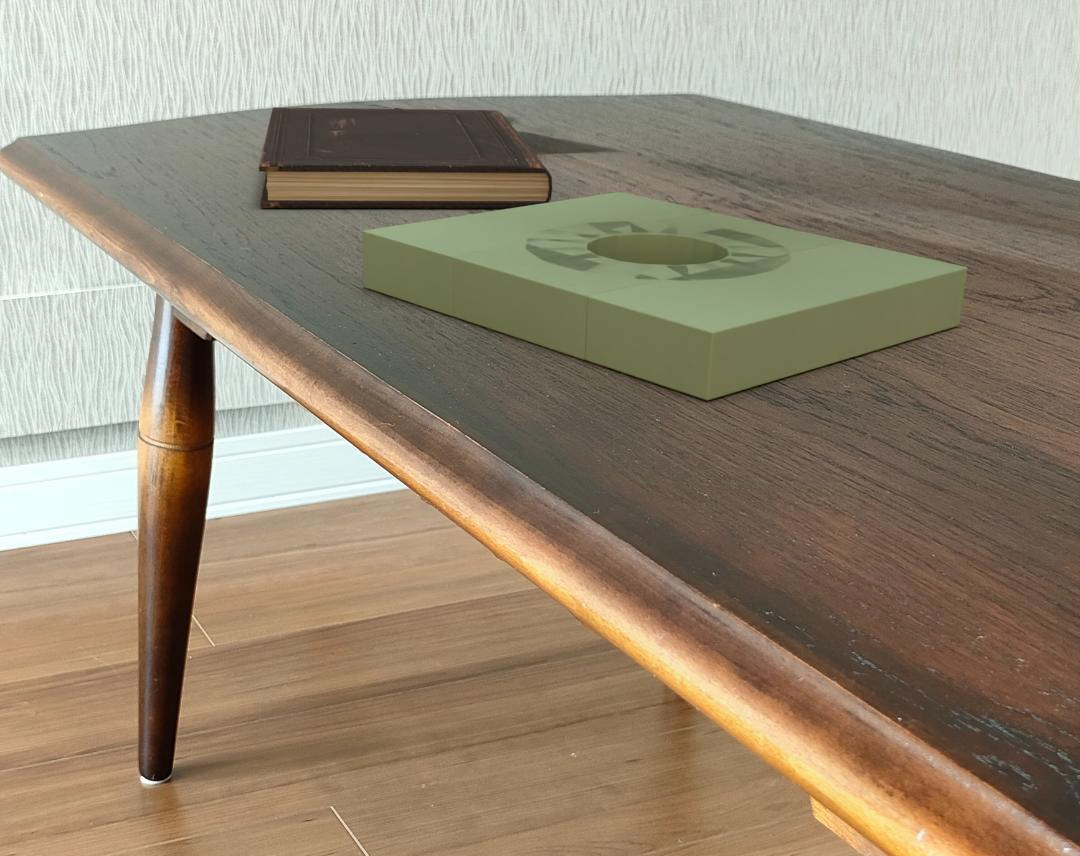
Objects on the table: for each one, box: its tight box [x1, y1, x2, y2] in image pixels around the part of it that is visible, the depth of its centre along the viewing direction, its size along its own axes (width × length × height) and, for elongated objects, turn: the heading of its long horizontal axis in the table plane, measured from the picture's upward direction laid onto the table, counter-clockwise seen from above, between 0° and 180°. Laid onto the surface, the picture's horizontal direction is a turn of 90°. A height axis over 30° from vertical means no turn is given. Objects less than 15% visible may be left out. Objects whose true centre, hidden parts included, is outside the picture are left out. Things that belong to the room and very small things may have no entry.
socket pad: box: [362, 191, 968, 401], centre depth 62 cm, size 20×16×2 cm
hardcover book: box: [258, 107, 553, 209], centre depth 90 cm, size 16×23×2 cm
